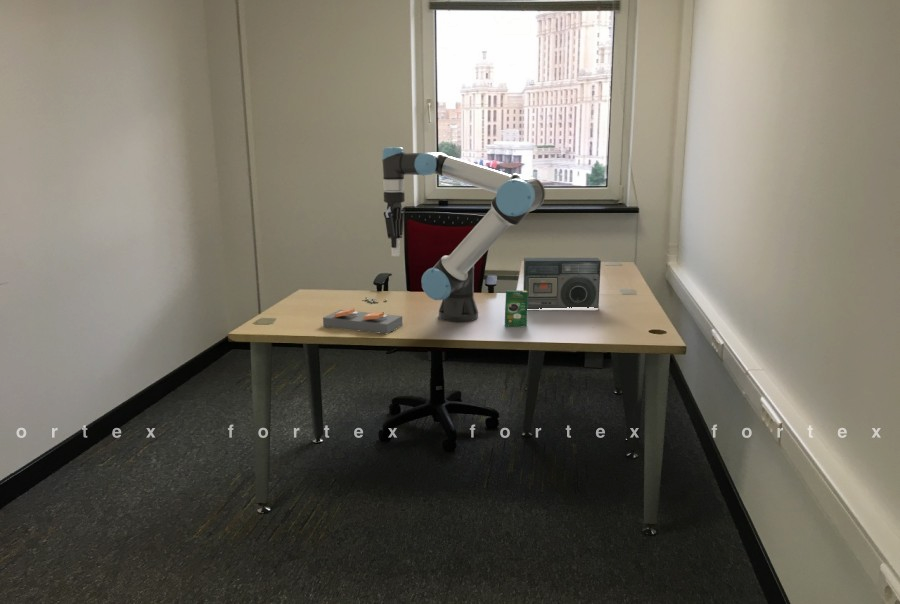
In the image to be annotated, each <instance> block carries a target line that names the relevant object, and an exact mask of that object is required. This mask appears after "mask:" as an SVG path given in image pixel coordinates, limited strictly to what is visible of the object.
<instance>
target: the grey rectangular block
mask: <svg viewBox="0 0 900 604" xmlns="http://www.w3.org/2000/svg"><path fill="white" fill-rule="evenodd" d="M345 310H346V309H339V310H337V311H335V312H332V313H330V314H328V315H325V316H323V317H322V322H323V328H331V329H340V330H349V331H356V330H360V331H359V332H365V331H370V332H369V333H374V332H380V333H379V334H383V333H388V334H390V333H391V331H392V332H394V331H395V330H397V329H398V327H399V326H400V327H402V326H403V315H397V314H396V315H395V314H386V313H384V316H382V317H381V318H378V319H367V320H364V317H363V316H365V315H367V314H370V313H371V312H364V311H356V310H355V312H353V313H351V314H349V315H344V316H340V317H335V315H334V314H336V313H338V312H340V311H345ZM401 325H402V326H401ZM400 327H399V328H400ZM396 328H397V329H396ZM394 329H395V330H394ZM389 332H390V333H389Z"/></svg>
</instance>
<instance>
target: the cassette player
mask: <svg viewBox="0 0 900 604" xmlns="http://www.w3.org/2000/svg"><path fill="white" fill-rule="evenodd" d="M601 267H602V261H601V260H600V258H599V257H523V289H522V291H528V308H527V309H539V308H540V309H542V308H567V307H569V308H570V307H571V308H572V307H587V308H589V307H594V308H600V305H599V304H600V302H599V301H600V289H601V288H600V287H601V285H600V284H601V283H600V282H601V269H602V268H601Z"/></svg>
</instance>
